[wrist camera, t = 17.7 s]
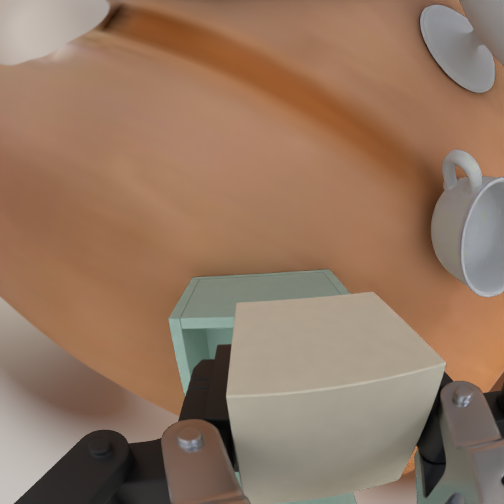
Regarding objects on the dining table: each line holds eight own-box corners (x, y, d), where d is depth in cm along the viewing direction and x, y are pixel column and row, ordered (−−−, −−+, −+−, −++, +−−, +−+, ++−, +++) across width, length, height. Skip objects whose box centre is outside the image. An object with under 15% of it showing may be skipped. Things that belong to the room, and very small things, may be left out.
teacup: (493, 245, 26) (538, 262, 18) (431, 291, 27) (474, 321, 20) (460, 132, 23) (510, 125, 16) (388, 169, 25) (436, 167, 17)
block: (236, 301, 9) (225, 396, 5) (373, 290, 9) (448, 362, 5) (246, 407, 10) (245, 505, 6) (360, 395, 10) (399, 480, 6)
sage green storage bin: (192, 276, 27) (168, 318, 18) (329, 268, 27) (362, 306, 18) (212, 404, 30) (203, 462, 22) (322, 398, 30) (339, 453, 22)
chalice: (399, 48, 22) (485, -16, 7) (422, -17, 19) (482, -73, 4) (489, 124, 23) (585, 114, 8) (501, 50, 20) (573, 25, 6)
